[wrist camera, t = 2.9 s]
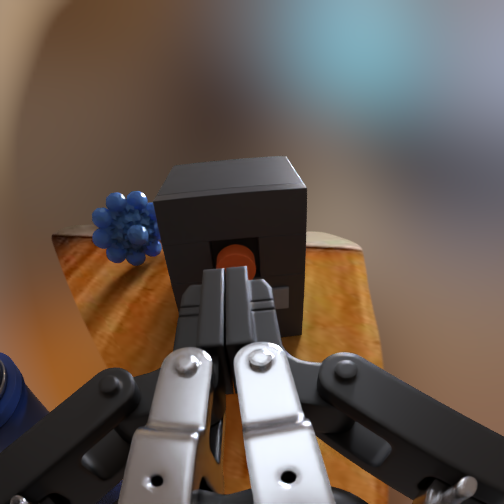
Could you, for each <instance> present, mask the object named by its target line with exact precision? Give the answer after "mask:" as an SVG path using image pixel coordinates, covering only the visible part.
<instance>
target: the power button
mask: <svg viewBox="0 0 504 504" xmlns="http://www.w3.org/2000/svg"><path fill="white" fill-rule="evenodd" d="M240 266H247V272H248V280H252V279H253V278H254V276H255V273H256V265H255V258H254V255H253V253H252V251H251V250H250V249H248V248H247V247H245V246H243V245H238V244H234V245H229V246H227V247H225V248H223V249H222V250H221V251H220V252H219V254H218V256H217V265H216V269H218V268H225V272H226V268H229V267H240Z"/></svg>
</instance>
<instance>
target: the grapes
mask: <svg viewBox="0 0 504 504" xmlns="http://www.w3.org/2000/svg"><path fill="white" fill-rule="evenodd" d="M106 206H107V208H108V209H109V210H108V209H106V208H97V209H96V210H95V211H94V212H93V213H92V221H93V223H94V224H95V225H96V226H97V227H99V228H100V229H97V230H96V231H95V232H94V233H93V242H94V244H95V245H96V246H98V247H100V248H102V249H106V248H107V249H106V254H107V257H108V259H109V260H110V261H112V262H114V263H120V262H123V261H124V260H125V258H126V260H127V261H128V262H129V263H130V264H132V265H134V266H139V265H141V264H142V263H144V261H145V258H146V257H145V254H146V255H148V256H150V257H152V256H157V255H158V254H160V252H161V249H162V247H161V244H160V242H159V241H158V240H161V238H160V234H159V229H158V224H157V220H156V215H155V210H154V205H153V203H148V204H147V198H146V196H145V195H144V194H143V193H142V192H140V191H132V192H130V193H129V195H128V196H127V200H126V198H125V197H124V196H123V195H122V194H120V193H111V194H110V195H109V196H108V197H107V198H106Z"/></svg>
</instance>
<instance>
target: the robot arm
mask: <svg viewBox="0 0 504 504" xmlns="http://www.w3.org/2000/svg"><path fill="white" fill-rule="evenodd" d="M7 382H8V373H7V369H6V367H5V365H4V364H3V363H2V361H1V360H0V400H1V399H2V397H3V395H4V393H5V390H6V387H7ZM233 383H234V388H235V393H236V394H237V393H238V399H239V406H240V413H241V419H242V427H243V438H244V445H245V451H246V458H247V464H248V470H249V476H250V482H251V489H248V490H244V491H241V492H237V493H233V494H229V495H224V476H223V454H224V439H225V425H226V412H225V411H226V394H233ZM315 435H316V436H317V437H318V438H319V439H321V440H322V441H324V442H325V443H326V444H328V445H329V446H330V447H332V448H333V449H335V450H336V451H337V452H339V453H340V454H342V455H343V456H345V457H346V458H347V459H349V460H350V461H352V462H353V463H355V464H356V465H358V466H359V467H361V468H362V469H364V470H365V471H367V472H368V473H370V474H371V475H373V476H374V477H376V478H378V479H379V480H381V481H382V482H384V483H385V484H387V485H389V486H390V487H392V488H394V489H395V490H397V491H399V492H400V493H402V494H404V495H405V496H407V497H409V498H410V499H412V500H413V503H412V504H504V436H502V435H500V434H498V433H496V432H494V431H492V430H490V429H488V428H487V427H484V426H483V425H481V424H479V423H477V422H475V421H473V420H472V419H470V418H468V417H466V416H464V415H462V414H460V413H459V412H457V411H455V410H453V409H451V408H450V407H448V406H446V405H444V404H442V403H441V402H438V401H437V400H435V399H433V398H432V397H430V396H428V395H426V394H424V393H422V392H421V391H419V390H417V389H416V388H414V387H412V386H410V385H409V384H407V383H405V382H403V381H402V380H399V379H398V378H396V377H395V376H393V375H391V374H389V373H388V372H386V371H384V370H383V369H381V368H379V367H377V366H376V365H374V364H372V363H371V362H369V361H367V360H366V359H364V358H362V357H360V356H358V355H356V354H353V353H346V352H342V353H336V354H333V355H331V356H329V357H327V358H326V359H325V360H324V361H323V362H322V363H316V362H308V361H303V360H299V359H297V358H295V357H293V356H291V355H290V354H289V353H288V352H287V351H286V350H285V349H284V347H283V345H282V341H281V335H280V330H279V325H278V319H277V314H276V309H275V303H274V298H273V292H272V287H271V286H270V285H269V284H268V283H267V282H266V281H265V280H264V279H257V280H248V272H247V266H240V267H229V268H226V272H225V268H218V269H207V270H203V277H202V285H190V286H189V287H188V288H187V290H186V291H185V292H184V294H183V295H182V299H181V305H180V311H179V318H178V323H177V329H176V335H175V342H174V349H173V352H172V353H170V354H169V355H168V356H167V357H166V358H165V359H164V361H163V363H162V366H161V368H159V369H158V370H156V371H153V372H150V373H147V374H143V375H140V376H136V377H132V375H131V374H130V373H129V372H128V371H126V370H124V369H122V368H109V369H105V370H103V371H101V372H100V373H98V374H97V375H95V376H94V377H93V378H92V379H91V380H89V381H88V382H87V383H86V384H84V385H83V386H82V387H81V388H79V389H78V390H77V391H76V392H75V393H73V394H72V395H71V396H70V397H68V398H67V399H66V400H65V401H64V402H62V403H61V404H60V405H59V406H57V407H56V408H55V409H54V410H52V411H51V412H50V413H49V414H47V415H46V416H45V417H44V418H43V419H41V420H40V421H39V422H38V423H36V424H35V425H34V426H33V427H32V428H30V429H29V430H28V431H27V432H25V433H24V434H23V435H22V436H21V437H19V438H18V439H17V440H16V441H14V442H13V443H12V444H11V445H10V446H8V447H7V448H6V449H5V450H3V451H2V452H1V453H0V504H95V503H96V502H98V501H99V500H100V499H101V498H102V497H103V496H104V495H106V494H107V493H108V492H109V491H110V490H111V489H112V488H113V487H115V486H116V485H117V484H118V483H119V482H120V481H121V480H122V479H123V482H122V486H121V491H120V496H119V500H117V501H116V502H114V503H113V504H368V503H366V502H365V501H364V500H362V499H361V498H359V497H358V496H356V495H354V494H352V493H350V492H347V491H345V490H342V489H339V488H335V487H331V486H330V482H329V479H328V476H327V472H326V469H325V466H324V462H323V459H322V456H321V452H320V449H319V446H318V442H317V439H316V436H315Z"/></svg>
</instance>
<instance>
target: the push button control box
mask: <svg viewBox="0 0 504 504" xmlns="http://www.w3.org/2000/svg"><path fill="white" fill-rule="evenodd" d="M153 205H154V210H155V215H156V220H157V224H158V229H159V234H160V238H161V243H162V247H163V251H164V255H165V260H166V264H167V268H168V272H169V276H170V280H171V285H172V289H173V292H174V296H175V300H176V304H177V308H178V311H180V305H181V299H182V295H183V294H184V292H185V291H186V290H187V288H188V287H189V286H190V285H202V277H203V270H207V269H216V265H217V256H218V254H219V252H220V251H221V250H222V249H223V248H225V247H227V246H229V245H234V244H238V245H243V246H245V247H247V248H248V249H250V250H251V251H252V253H253V255H254V258H255V265H256V273H255V276H254V278H253V279H252V280H257V279H264V280H265V281H266V282H267V283H268V284H269V285H270V286H271V287H272V292H273V298H274V303H275V309H276V314H277V319H278V325H279V330H280V335H281V337H287V336H296V335H302V321H303V303H304V283H305V256H306V222H307V220H306V219H307V188H306V186H305V184H304V183H303V182H302V180H301V179H300V177H299V176H298V174H297V173H296V171H295V169H294V168H293V166H292V165H291V164H290V162H289V160H288V159H287V157H286V156H276V157H259V158H246V159H233V160H222V161H211V162H202V163H193V164H185V165H176V166H174V167H173V168H172V170H171V171H170V173H169V175H168V177H167V178H166V180H165V182H164V184H163V185H162V187H161V189H160V190H159V192H158V194H157V196H156V197H155V199H154V201H153Z"/></svg>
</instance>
